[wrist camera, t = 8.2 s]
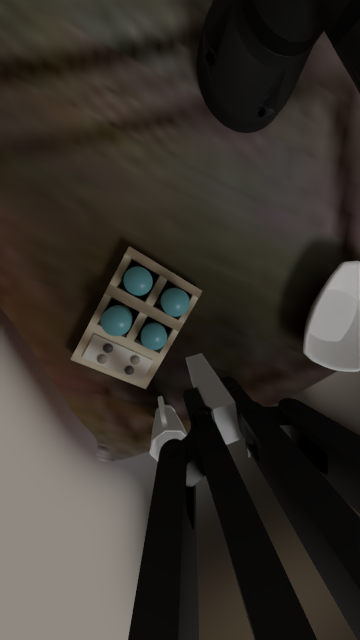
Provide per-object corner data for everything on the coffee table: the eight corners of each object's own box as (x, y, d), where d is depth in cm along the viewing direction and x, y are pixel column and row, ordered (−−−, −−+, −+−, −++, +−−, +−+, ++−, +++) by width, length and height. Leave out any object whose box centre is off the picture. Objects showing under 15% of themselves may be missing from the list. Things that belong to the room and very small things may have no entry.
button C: (112, 300, 29) (108, 302, 26) (137, 312, 31) (136, 316, 28) (100, 323, 30) (95, 328, 27) (124, 335, 31) (122, 340, 28)
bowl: (314, 251, 37) (341, 247, 32) (385, 283, 42) (418, 284, 37) (274, 349, 40) (292, 359, 35) (344, 367, 45) (369, 379, 40)
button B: (168, 283, 30) (170, 283, 28) (190, 295, 32) (194, 297, 29) (155, 305, 31) (157, 308, 28) (177, 317, 32) (181, 321, 29)
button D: (148, 317, 33) (148, 320, 30) (169, 327, 34) (171, 332, 31) (137, 337, 33) (136, 343, 30) (158, 347, 34) (159, 354, 31)
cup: (152, 431, 39) (154, 469, 31) (141, 391, 36) (140, 422, 28) (183, 421, 40) (193, 456, 32) (175, 382, 37) (183, 409, 29)
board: (130, 248, 30) (128, 245, 28) (199, 290, 34) (203, 291, 31) (74, 354, 32) (69, 360, 30) (145, 383, 36) (145, 390, 33)
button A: (133, 262, 30) (131, 260, 27) (156, 276, 31) (157, 276, 28) (120, 285, 31) (118, 286, 28) (144, 298, 32) (144, 300, 29)
